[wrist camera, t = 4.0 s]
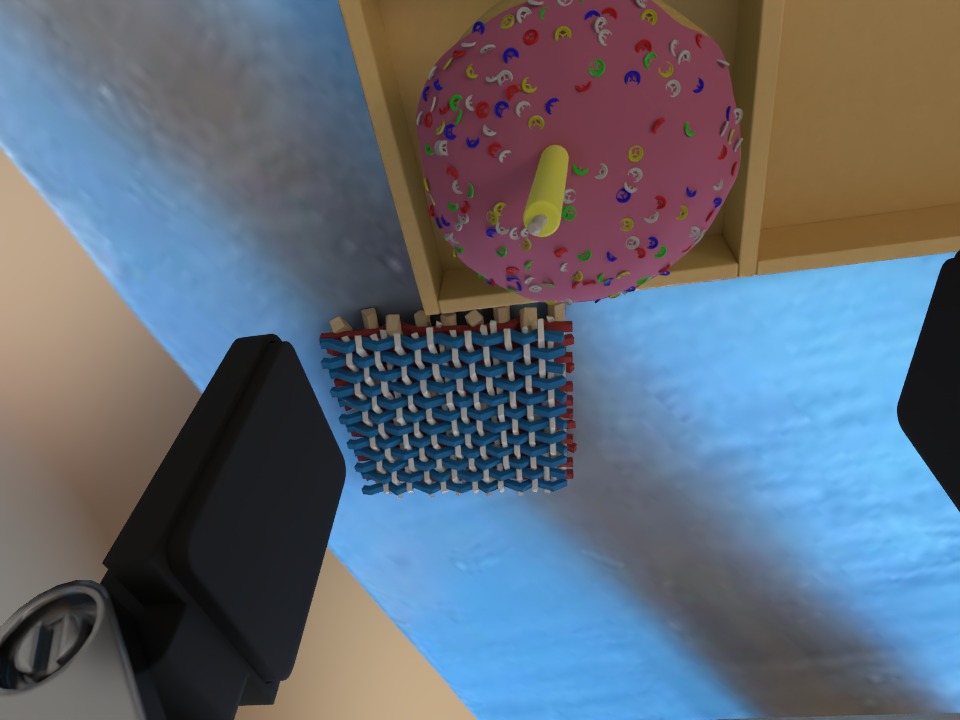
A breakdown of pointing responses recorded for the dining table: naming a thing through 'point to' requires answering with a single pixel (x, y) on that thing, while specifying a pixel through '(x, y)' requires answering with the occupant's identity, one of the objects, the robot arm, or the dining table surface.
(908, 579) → the dining table surface
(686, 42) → the cupcake
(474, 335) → the woven mat
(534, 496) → the dining table surface
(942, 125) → the divided tray
